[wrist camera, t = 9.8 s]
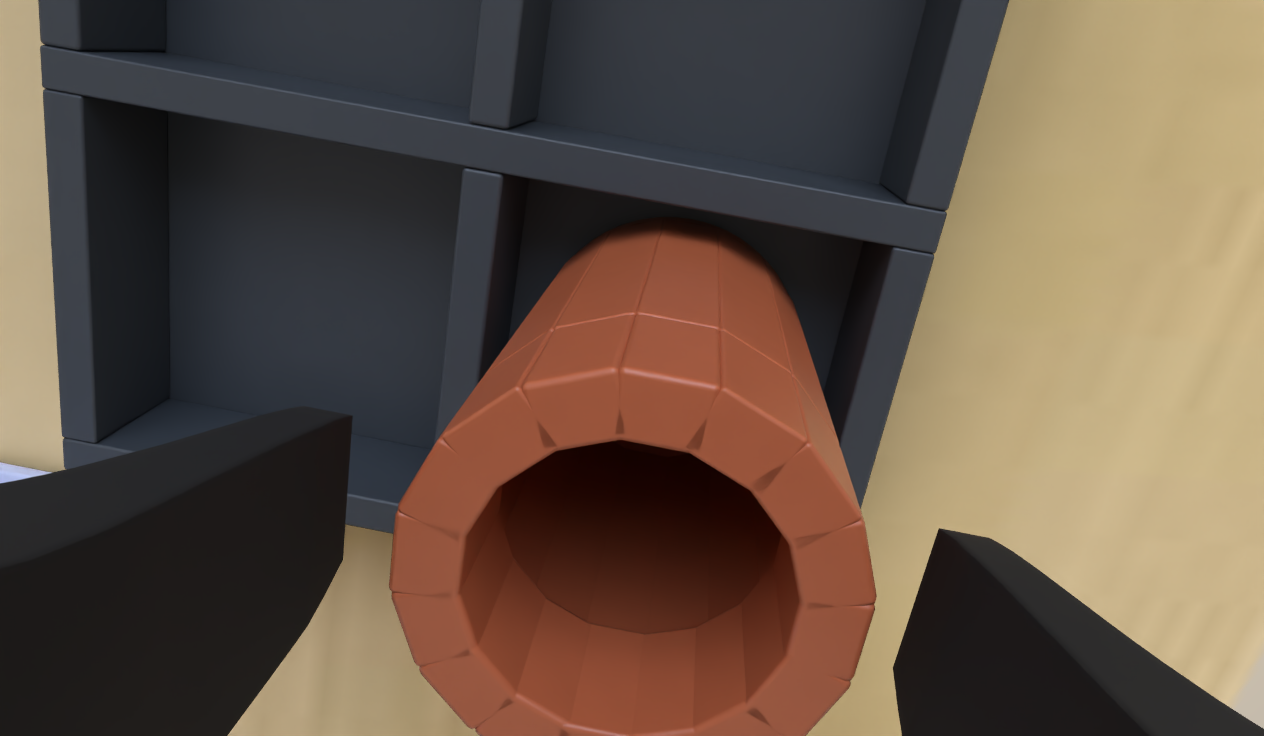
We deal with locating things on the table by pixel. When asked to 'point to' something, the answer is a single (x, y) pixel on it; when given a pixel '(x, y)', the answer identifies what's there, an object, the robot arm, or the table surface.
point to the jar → (640, 509)
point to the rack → (470, 193)
